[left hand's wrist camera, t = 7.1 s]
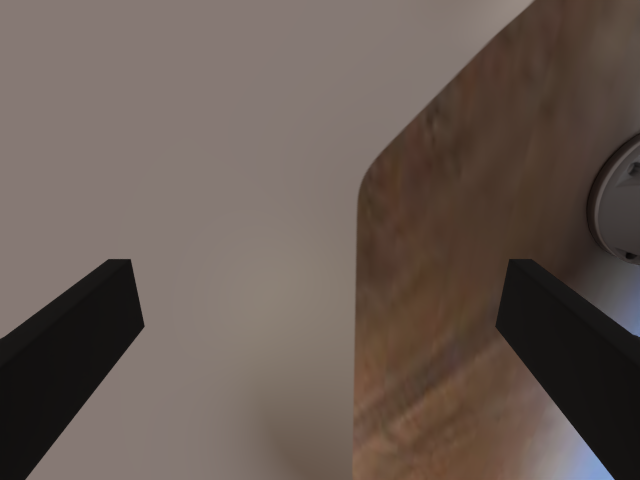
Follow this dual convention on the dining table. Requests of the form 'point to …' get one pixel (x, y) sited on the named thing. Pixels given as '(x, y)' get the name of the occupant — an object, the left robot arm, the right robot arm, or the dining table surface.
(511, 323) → the left robot arm
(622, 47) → the dining table surface
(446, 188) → the dining table surface
